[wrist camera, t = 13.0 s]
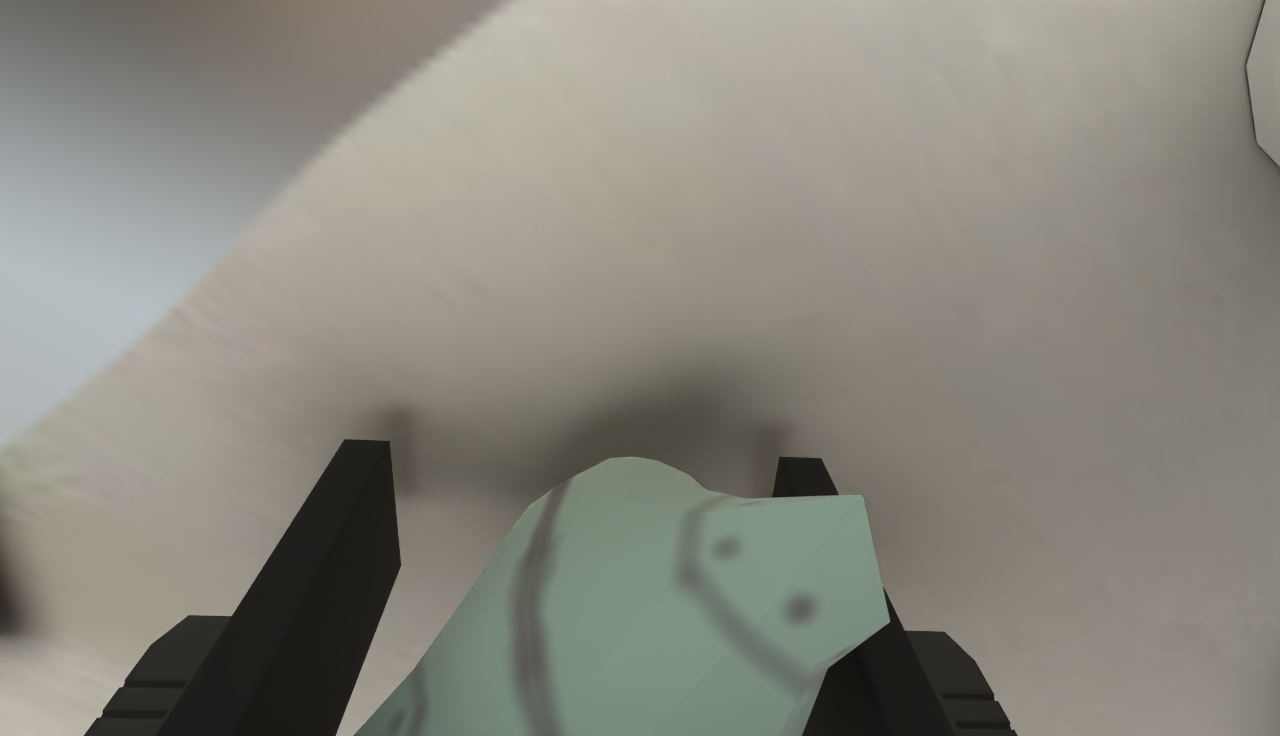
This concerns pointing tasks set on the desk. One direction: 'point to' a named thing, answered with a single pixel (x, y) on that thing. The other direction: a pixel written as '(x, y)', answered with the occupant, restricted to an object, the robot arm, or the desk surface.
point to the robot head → (649, 614)
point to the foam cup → (1266, 80)
